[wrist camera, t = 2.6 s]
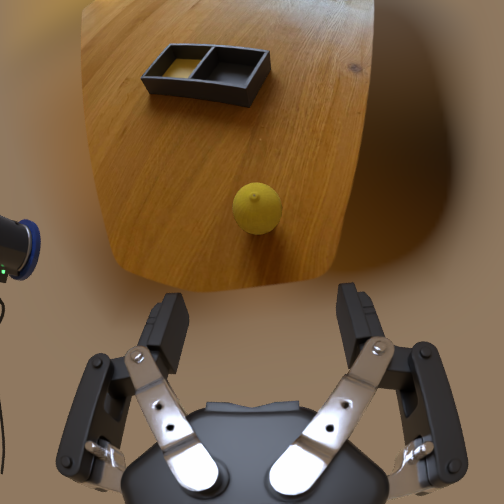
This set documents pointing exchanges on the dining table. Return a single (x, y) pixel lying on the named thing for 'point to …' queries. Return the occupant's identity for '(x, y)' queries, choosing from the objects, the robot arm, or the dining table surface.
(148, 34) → the dining table surface
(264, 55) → the sorter
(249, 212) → the lemon
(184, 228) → the dining table surface
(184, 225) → the dining table surface
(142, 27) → the dining table surface
